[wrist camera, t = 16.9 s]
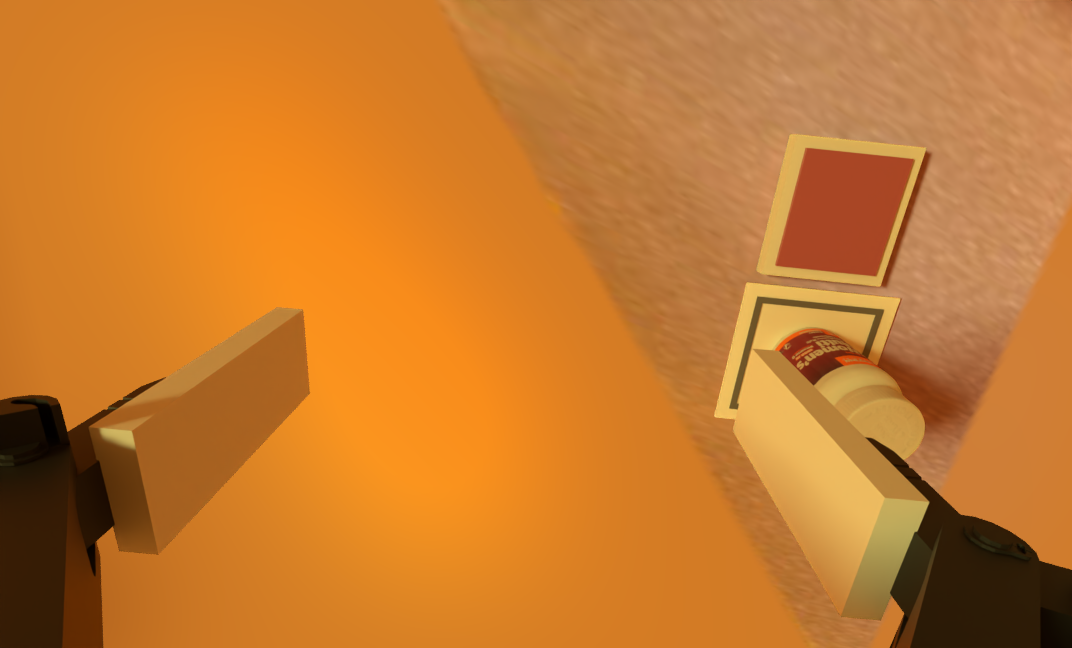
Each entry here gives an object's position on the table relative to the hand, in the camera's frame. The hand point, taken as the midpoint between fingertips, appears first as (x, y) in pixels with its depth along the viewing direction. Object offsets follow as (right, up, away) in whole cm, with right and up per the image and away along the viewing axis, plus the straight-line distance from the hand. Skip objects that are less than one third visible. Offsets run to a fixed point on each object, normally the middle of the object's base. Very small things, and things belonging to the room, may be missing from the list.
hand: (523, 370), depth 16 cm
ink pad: (+22, +10, +24) cm, 34 cm away
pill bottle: (+22, -2, +28) cm, 36 cm away
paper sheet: (+22, -2, +28) cm, 36 cm away
